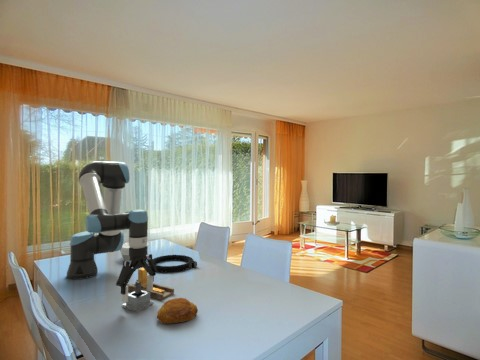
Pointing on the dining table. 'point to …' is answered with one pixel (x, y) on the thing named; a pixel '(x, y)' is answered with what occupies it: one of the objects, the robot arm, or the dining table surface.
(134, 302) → the square hollow frame
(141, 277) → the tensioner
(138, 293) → the square plate with peg
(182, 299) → the croissant
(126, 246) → the bowl
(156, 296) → the rail
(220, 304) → the dining table surface
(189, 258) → the cable lock
